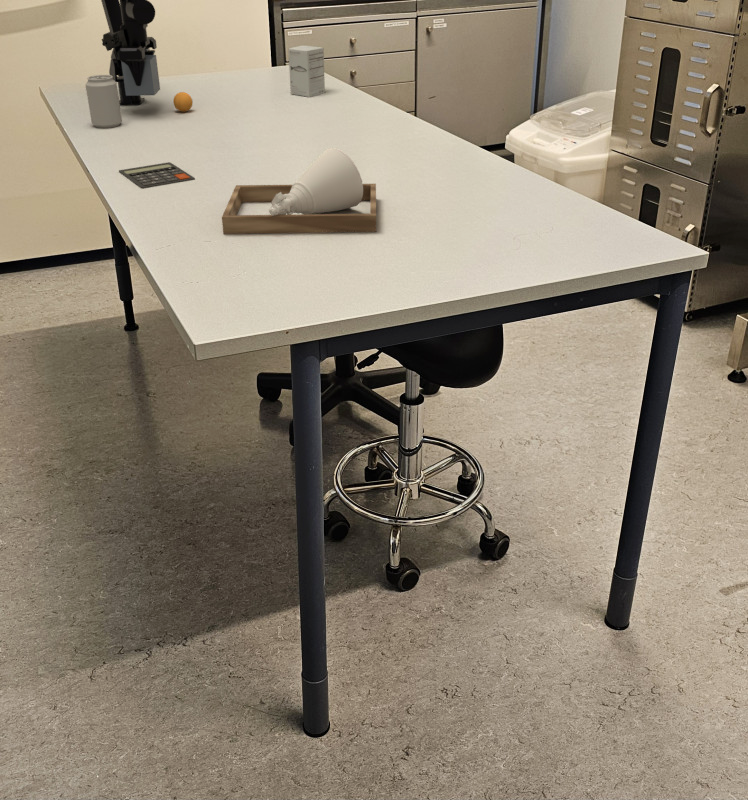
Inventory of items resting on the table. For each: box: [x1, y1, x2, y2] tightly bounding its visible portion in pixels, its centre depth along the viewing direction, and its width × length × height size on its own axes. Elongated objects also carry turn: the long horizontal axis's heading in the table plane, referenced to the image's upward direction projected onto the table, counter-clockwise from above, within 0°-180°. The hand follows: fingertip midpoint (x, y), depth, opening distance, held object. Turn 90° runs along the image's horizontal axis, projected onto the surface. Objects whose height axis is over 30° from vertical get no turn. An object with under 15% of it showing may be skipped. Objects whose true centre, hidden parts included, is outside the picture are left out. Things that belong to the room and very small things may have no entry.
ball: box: [172, 91, 193, 113], centre depth 246 cm, size 5×5×5 cm
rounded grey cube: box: [121, 54, 161, 96], centre depth 243 cm, size 8×8×9 cm
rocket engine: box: [268, 147, 364, 216], centre depth 167 cm, size 12×12×18 cm
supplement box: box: [288, 44, 326, 98], centre depth 262 cm, size 7×7×13 cm
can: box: [85, 74, 123, 129], centre depth 232 cm, size 8×8×12 cm
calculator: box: [118, 162, 196, 189], centre depth 195 cm, size 12×1×15 cm
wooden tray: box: [221, 183, 377, 235], centre depth 170 cm, size 19×27×3 cm
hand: (141, 82), depth 244 cm, fingers closed on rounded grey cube, 7 cm apart
